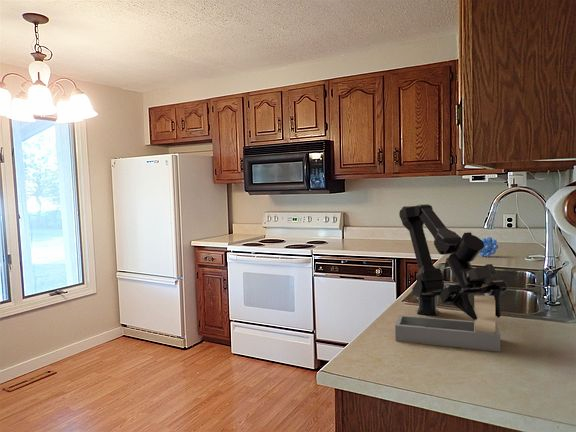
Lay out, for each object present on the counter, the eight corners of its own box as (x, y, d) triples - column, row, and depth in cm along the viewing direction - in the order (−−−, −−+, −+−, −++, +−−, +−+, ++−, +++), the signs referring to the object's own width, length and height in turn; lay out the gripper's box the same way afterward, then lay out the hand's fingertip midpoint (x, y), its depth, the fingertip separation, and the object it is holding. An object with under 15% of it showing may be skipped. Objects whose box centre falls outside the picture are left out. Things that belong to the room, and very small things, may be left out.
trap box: (399, 329, 129) (399, 315, 128) (496, 338, 119) (496, 323, 118) (395, 340, 120) (395, 325, 119) (500, 351, 109) (500, 335, 109)
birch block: (474, 332, 118) (474, 294, 118) (493, 334, 117) (493, 295, 116) (474, 338, 114) (474, 299, 113) (495, 340, 112) (495, 300, 111)
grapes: (499, 256, 247) (499, 236, 246) (497, 258, 241) (497, 237, 241) (477, 255, 253) (477, 235, 253) (476, 257, 248) (476, 237, 247)
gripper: (445, 256, 116) (470, 306, 106) (504, 252, 119) (533, 300, 109) (430, 278, 124) (452, 326, 114) (485, 274, 128) (511, 320, 118)
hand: (487, 318), depth 113 cm, fingers closed on birch block, 7 cm apart
